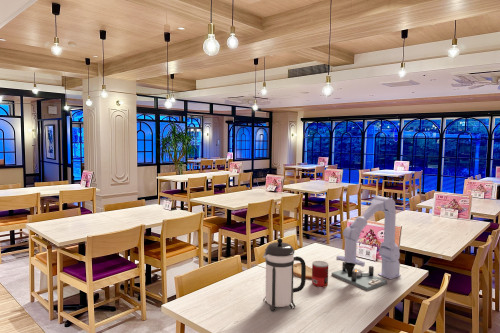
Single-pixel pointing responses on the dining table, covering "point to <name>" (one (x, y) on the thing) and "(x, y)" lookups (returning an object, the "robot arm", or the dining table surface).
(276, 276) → the coffee press
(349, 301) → the dining table surface
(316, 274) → the canned food
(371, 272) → the capstan
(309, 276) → the slice of bread
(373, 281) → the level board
